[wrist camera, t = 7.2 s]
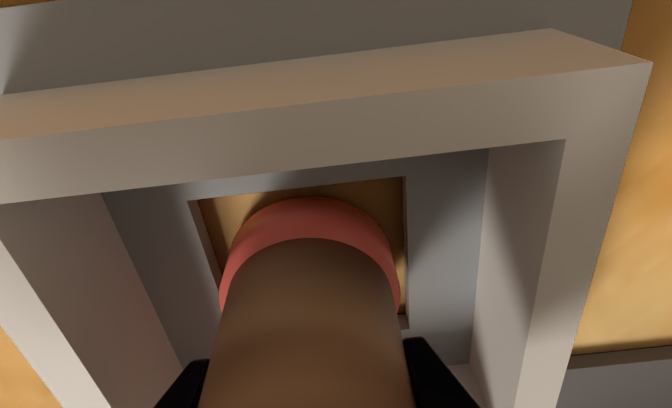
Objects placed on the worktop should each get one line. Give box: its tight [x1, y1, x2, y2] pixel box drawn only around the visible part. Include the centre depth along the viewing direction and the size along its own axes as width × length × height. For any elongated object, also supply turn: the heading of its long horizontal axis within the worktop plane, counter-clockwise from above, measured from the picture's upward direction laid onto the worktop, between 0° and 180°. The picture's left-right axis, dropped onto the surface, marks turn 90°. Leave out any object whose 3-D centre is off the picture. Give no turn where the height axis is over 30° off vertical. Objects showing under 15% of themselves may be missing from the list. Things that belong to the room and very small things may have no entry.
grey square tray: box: [0, 0, 654, 408], centre depth 10 cm, size 14×14×4 cm
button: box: [219, 196, 400, 312], centre depth 11 cm, size 4×4×1 cm
